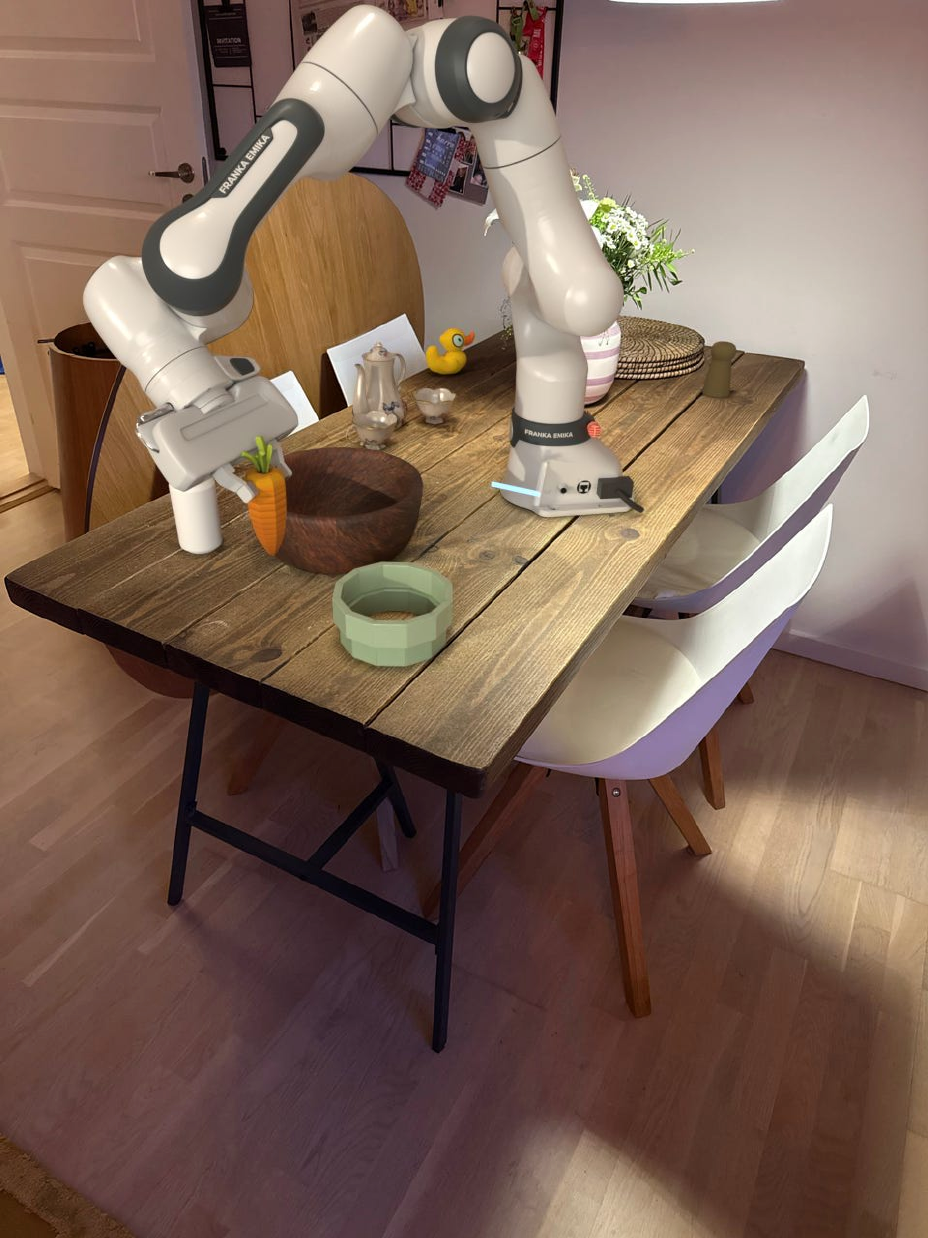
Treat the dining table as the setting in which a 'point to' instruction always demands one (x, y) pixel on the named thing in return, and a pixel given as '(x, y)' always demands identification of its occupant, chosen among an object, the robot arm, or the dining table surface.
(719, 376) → the olive brown knobbed cylinder
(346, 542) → the wooden bowl
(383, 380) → the chinaware
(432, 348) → the duckling
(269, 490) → the carrot
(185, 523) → the beverage can
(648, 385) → the dining table surface
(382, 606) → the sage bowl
